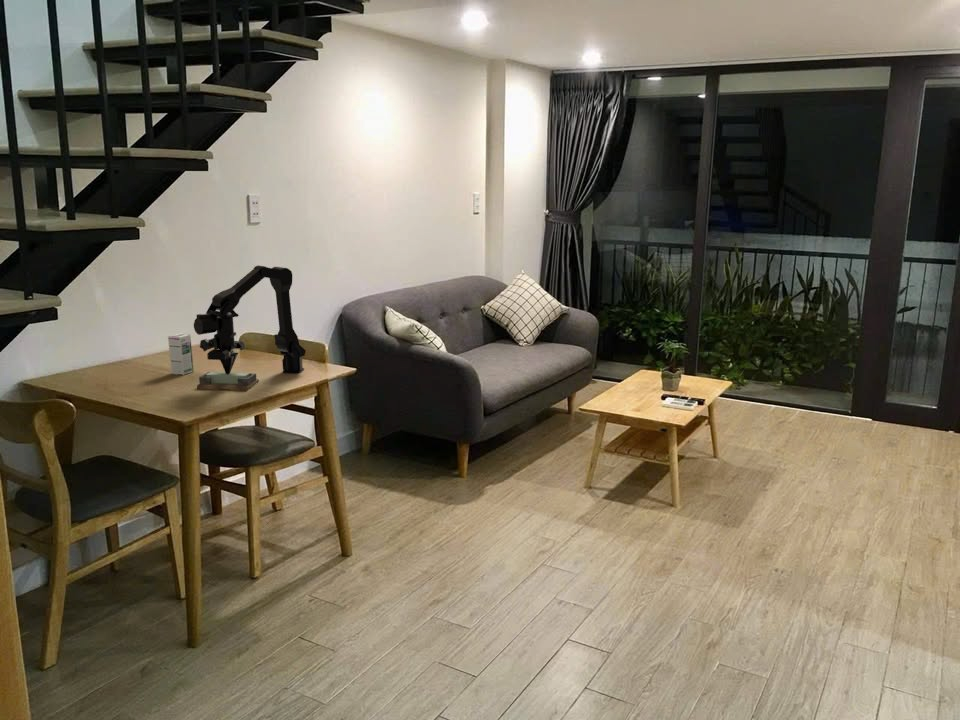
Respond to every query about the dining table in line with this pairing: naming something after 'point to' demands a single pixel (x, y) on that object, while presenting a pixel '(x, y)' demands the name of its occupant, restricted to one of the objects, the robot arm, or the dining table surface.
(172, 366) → the syrup box
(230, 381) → the slat
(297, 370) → the robot arm
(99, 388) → the dining table surface
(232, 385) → the frame
